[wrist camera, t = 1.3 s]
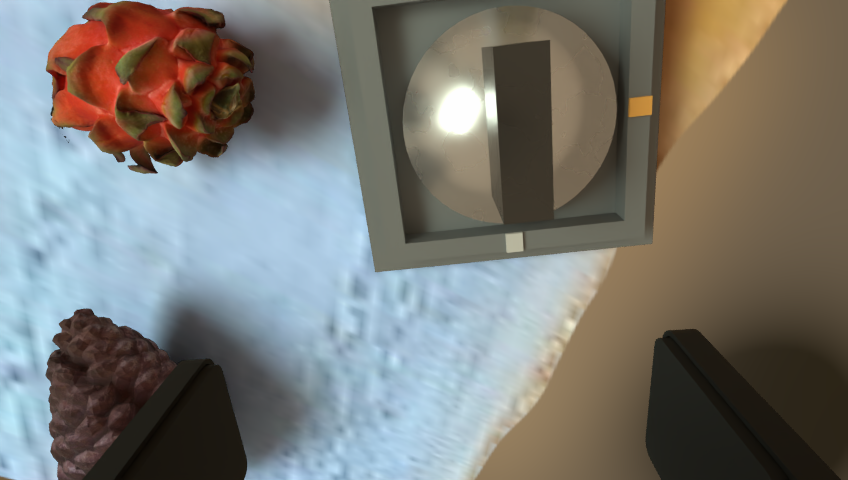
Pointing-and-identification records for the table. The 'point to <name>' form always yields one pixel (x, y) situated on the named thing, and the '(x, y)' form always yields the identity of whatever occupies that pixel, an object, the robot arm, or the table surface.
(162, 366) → the pine cone
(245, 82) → the dragon fruit
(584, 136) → the dial
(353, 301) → the table surface
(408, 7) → the dial housing
